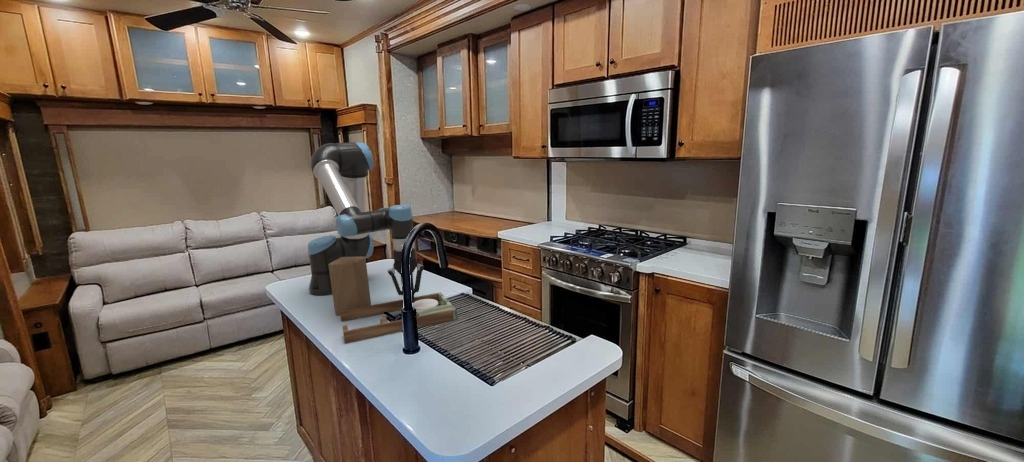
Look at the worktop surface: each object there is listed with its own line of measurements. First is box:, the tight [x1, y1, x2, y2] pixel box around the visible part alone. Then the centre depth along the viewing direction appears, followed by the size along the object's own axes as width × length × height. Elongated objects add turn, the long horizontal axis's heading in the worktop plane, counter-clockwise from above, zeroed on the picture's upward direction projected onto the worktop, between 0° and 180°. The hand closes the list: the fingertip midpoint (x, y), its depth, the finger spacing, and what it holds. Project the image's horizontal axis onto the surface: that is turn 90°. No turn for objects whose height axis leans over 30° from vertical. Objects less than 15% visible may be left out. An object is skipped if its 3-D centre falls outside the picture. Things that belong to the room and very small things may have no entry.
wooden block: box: [329, 257, 372, 316], centre depth 161 cm, size 10×10×20 cm
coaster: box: [413, 299, 440, 311], centre depth 158 cm, size 10×10×4 cm
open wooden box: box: [339, 292, 458, 344], centre depth 151 cm, size 21×37×4 cm, turn 115°
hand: (410, 311), depth 155 cm, fingers closed
